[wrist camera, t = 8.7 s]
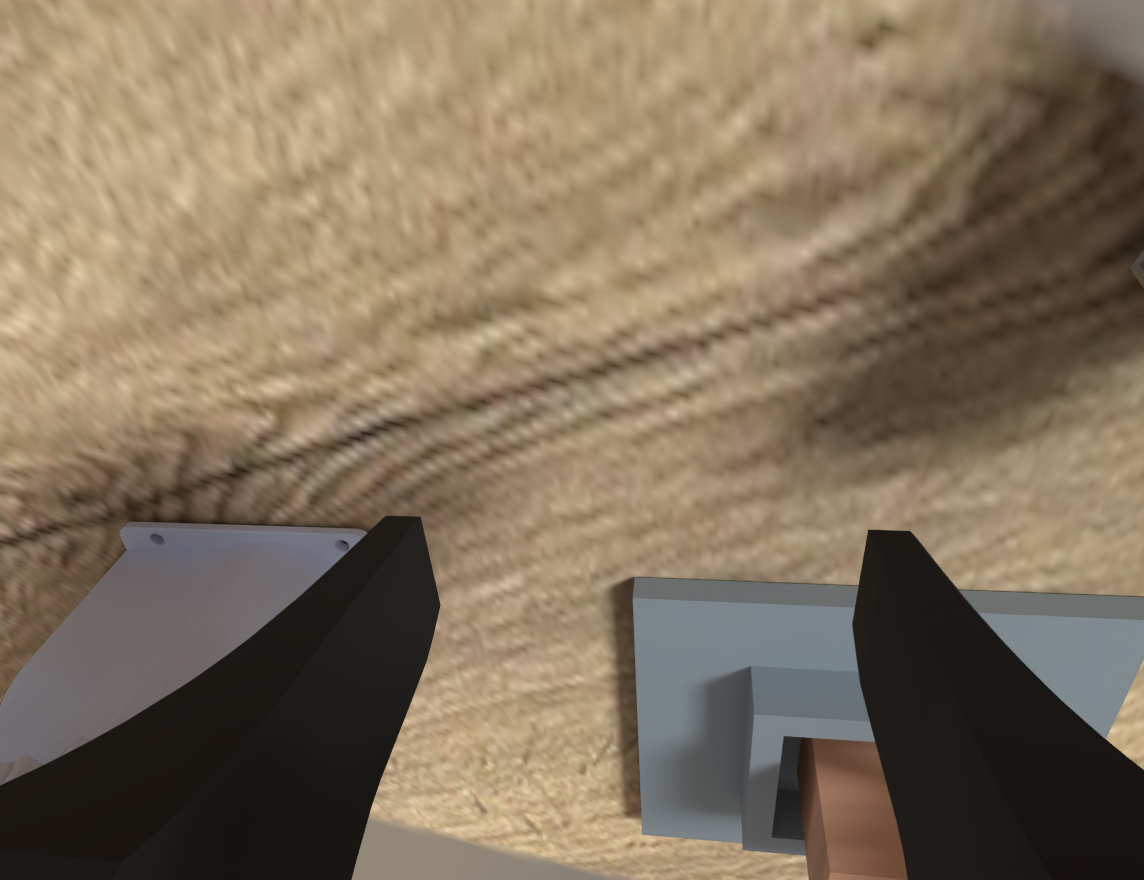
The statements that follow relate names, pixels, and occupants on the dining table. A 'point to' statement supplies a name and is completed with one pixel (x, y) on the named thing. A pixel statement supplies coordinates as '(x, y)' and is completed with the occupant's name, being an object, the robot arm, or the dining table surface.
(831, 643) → the base board
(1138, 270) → the food container
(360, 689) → the robot arm
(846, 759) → the terracotta block
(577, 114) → the dining table surface
